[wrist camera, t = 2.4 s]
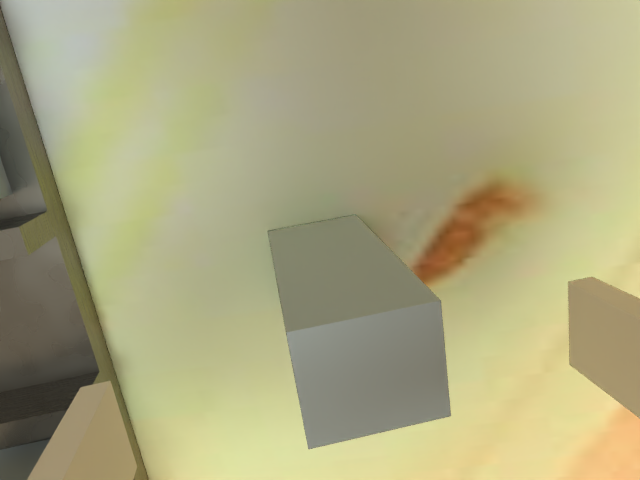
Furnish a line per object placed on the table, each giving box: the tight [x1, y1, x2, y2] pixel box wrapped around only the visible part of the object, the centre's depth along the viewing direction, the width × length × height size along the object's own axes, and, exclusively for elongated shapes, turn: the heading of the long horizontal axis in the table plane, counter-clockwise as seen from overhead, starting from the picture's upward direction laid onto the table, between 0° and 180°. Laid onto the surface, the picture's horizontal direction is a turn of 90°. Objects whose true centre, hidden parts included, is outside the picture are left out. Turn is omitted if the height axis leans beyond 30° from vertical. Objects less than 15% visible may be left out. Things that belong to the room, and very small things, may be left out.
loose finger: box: [268, 215, 451, 449], centre depth 18 cm, size 4×4×10 cm
